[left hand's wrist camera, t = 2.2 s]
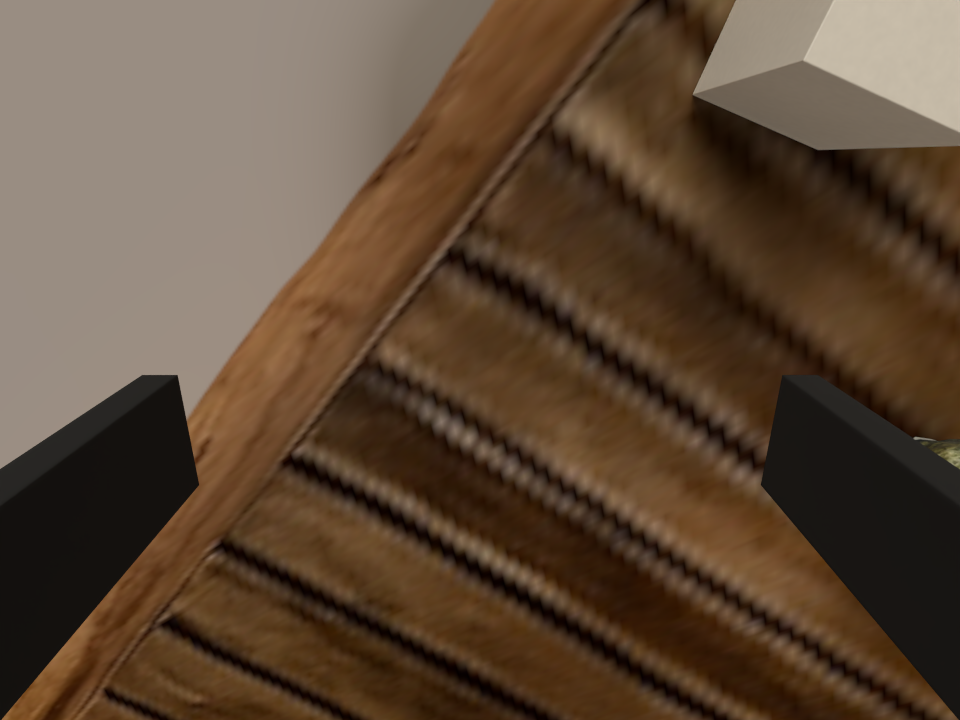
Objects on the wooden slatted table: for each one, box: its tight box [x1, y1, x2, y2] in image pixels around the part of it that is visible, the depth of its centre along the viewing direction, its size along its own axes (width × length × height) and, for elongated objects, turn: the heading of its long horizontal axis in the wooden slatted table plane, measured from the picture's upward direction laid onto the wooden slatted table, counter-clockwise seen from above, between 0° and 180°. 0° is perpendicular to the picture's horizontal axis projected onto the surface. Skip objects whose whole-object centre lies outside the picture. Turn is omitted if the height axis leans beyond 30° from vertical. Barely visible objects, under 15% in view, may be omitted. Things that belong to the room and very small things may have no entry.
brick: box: [693, 0, 960, 150], centre depth 24 cm, size 8×8×11 cm
